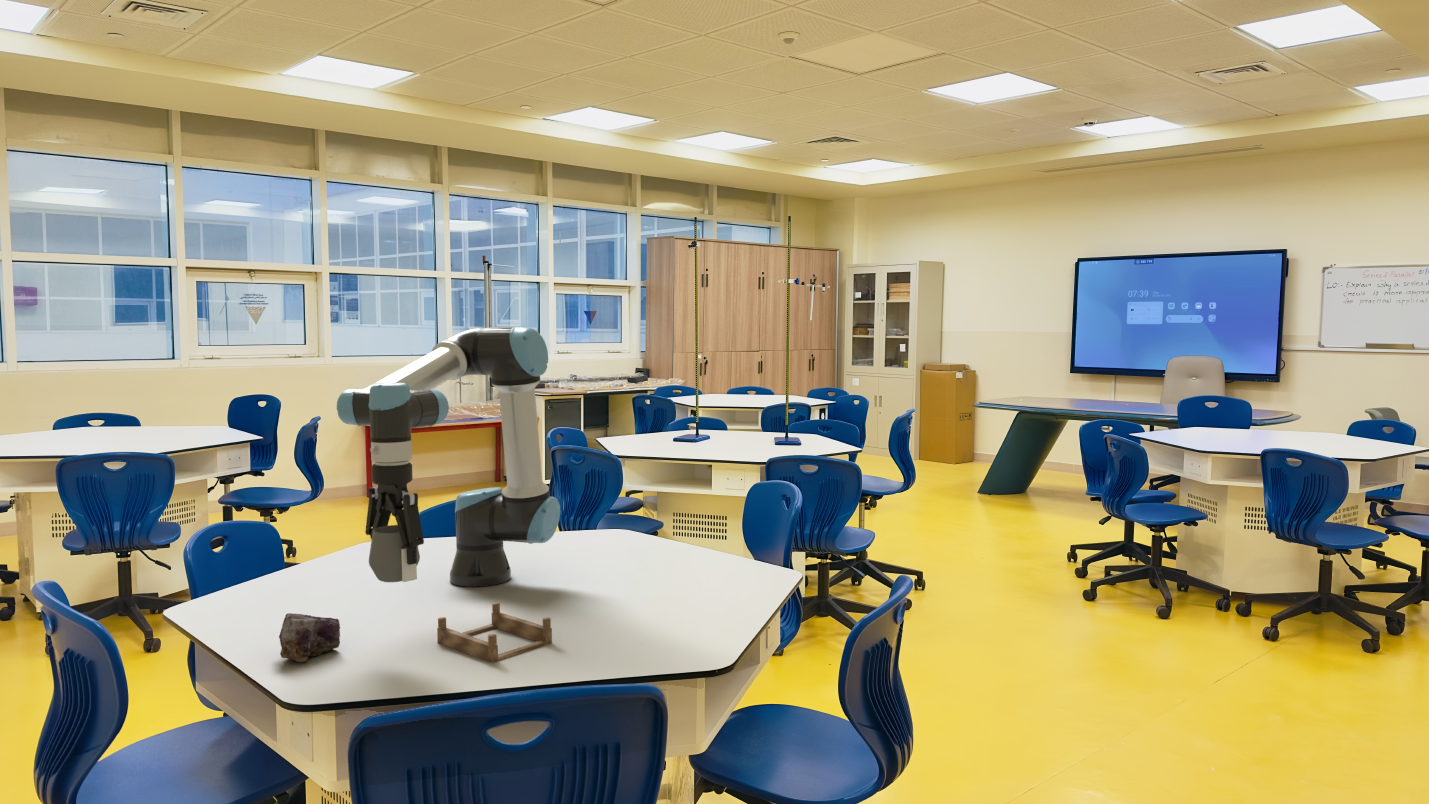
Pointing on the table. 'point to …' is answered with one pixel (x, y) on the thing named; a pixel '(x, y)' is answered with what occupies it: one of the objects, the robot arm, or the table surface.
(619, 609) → the table surface
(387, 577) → the cup
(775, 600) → the table surface
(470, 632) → the frame
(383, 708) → the table surface
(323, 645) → the rock
